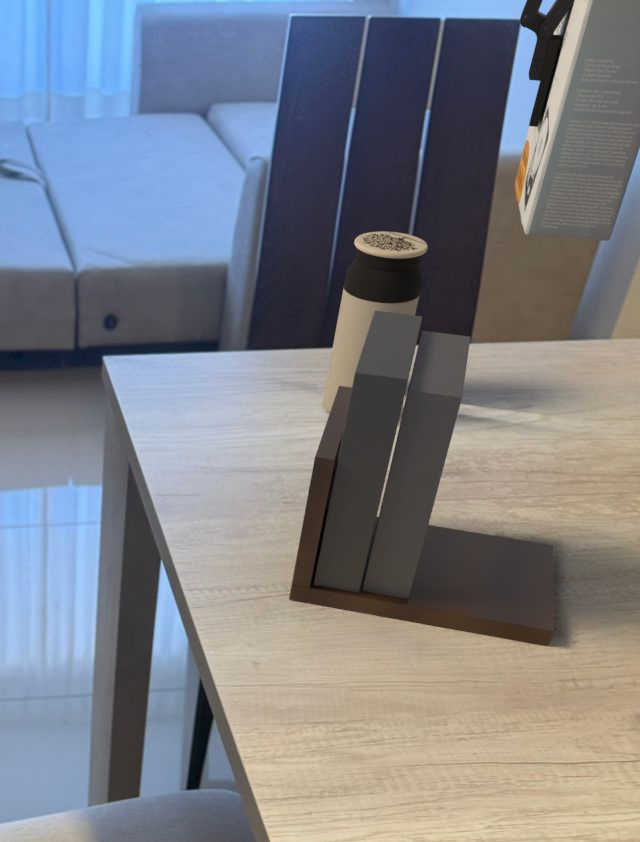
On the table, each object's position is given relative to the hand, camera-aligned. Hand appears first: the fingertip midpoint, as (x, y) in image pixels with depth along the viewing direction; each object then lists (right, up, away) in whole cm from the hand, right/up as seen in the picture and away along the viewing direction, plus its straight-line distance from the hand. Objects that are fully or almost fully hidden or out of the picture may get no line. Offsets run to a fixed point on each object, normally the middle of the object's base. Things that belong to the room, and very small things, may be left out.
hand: (583, 127), depth 103 cm
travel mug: (-12, -15, +29) cm, 35 cm away
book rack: (-14, -40, +3) cm, 42 cm away
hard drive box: (0, -5, +5) cm, 7 cm away
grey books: (-18, -38, +3) cm, 42 cm away
